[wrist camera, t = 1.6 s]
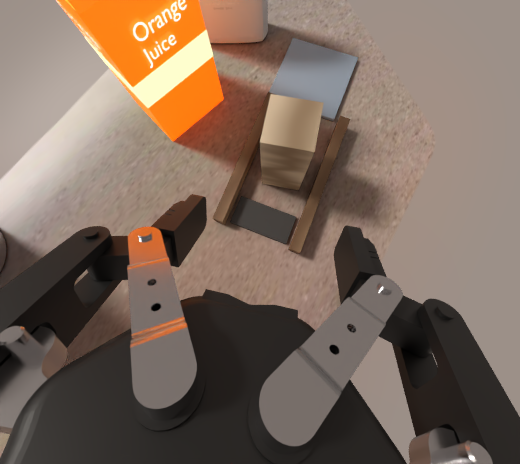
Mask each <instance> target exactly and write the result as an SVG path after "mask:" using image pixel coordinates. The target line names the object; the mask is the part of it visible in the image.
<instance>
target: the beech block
mask: <svg viewBox="0 0 520 464" xmlns="http://www.w3.org/2000/svg"><path fill="white" fill-rule="evenodd" d="M323 104H324V103H323V102H317V101H311V100H305V99H298V98H292V97H286V96H280V95H274V94H271V95H270V99H269V104H268V108H267V113H266V117H265V121H264V126H263V130H262V135H261V139H260V155H261V173H262V184H268V185H273V186H278V187H283V188H289V189H294V190H299V188H300V186H301V183H302V181H303V179H304V176H305V174H306V171H307V169H308V166H309V164H310V162H311V159H312V157H313V154H314V152H315V147H316V141H317V136H318V131H319V125H320V120H321V114H322V109H323Z"/></svg>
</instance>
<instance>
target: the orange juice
mask: <svg viewBox="0 0 520 464" xmlns="http://www.w3.org/2000/svg"><path fill="white" fill-rule="evenodd" d="M56 1H57V2H58V4H59V5H60V6H61V7H62V8H63V10H64V11H65V12H66V14H67V15H68V16H69V17H70V19H71V20H72V21H73V23H74V24H75V25H76V26H77V27H78V29H79V30H80V31H81V33H82V34H83V35H84V36H85V39H86V40H87V41H88V42H89V44H90V45H91V46H92V47H93V49H94V50H95V51H96V52H97V54H98V55H99V56H100V57H101V59H102V60H103V61H104V62H105V64H107V66H108V67H109V68H110V69H111V71H112V72H113V73H114V74H115V76H116V77H117V78H118V79H119V81H120V82H121V83H122V85H123V86H124V87H125V88H126V90H127V91H128V92H129V93H130V95H131V96H132V97H133V98H134V100H135V101H136V102H137V104H138V105H139V106H140V107H141V108H142V109H143V110H144V111H145V112H146V113H147V114H148V115H149V116H150V117H151V119H152V120H153V121H154V122H155V123H156V124H157V125H158V126H159V127H160V128H161V129H162V130H163V131H164V132H165V133H166V135H167V136H168V137H169V138H170V139H171V140H172V141H174V140H175V139H177V138H178V137H179V136H180V135H181V134H183V133H184V132H185V131H186V130H187V129H189V128H190V127H191V126H192V125H193V124H195V123H196V122H197V121H198V120H199V119H201V118H202V117H203V116H204V115H205V114H207V113H208V112H209V111H210V110H212V109H213V108H214V107H215V106H216V105H218V104H219V103H220V102H221V101H222V100H224V98H223V94H222V90H221V86H220V82H219V78H218V74H217V71H216V67H215V63H214V59H213V53H212V49H211V45H210V41H209V37H208V33H207V30H206V28H205V24H204V20H203V16H202V12H201V8H200V4H199V0H56Z"/></svg>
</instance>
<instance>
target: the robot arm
mask: <svg viewBox="0 0 520 464" xmlns="http://www.w3.org/2000/svg"><path fill="white" fill-rule="evenodd" d="M206 221H207V216H206V198H205V197H203V196H198V195H193V194H192V195H190V196H189V197H188V198H187V200H186V201H180V202H178V203H176V204H174V205H173V206H172V207H171V208H170V209H169V210H167V211H166V212H165V214H163V215H162V216H161V217H160V218H159V219H158V220H157V221H156V222H155V223H154V224H153V225H152V226H151V227H142V228H138V229H136V230H134V231H132V232H131V233H130V234H129V235H128V236H111V234H110V231H109V230H108V229H107V228H105V227H101V226H94V227H88V228H85V229H82V230H80V231H78V232H76V233H75V234H74V235H72V236H71V237H70V238H68V239H67V240H66V241H64V242H63V243H62V244H60V245H59V246H58V247H56V248H55V249H54V250H52V251H51V252H50V253H48V254H47V255H46V256H44V257H43V258H42V259H40V260H39V261H38V262H36V263H35V264H33V265H32V266H31V267H29V268H28V269H27V270H25V271H24V272H23V273H21V274H20V275H19V276H17V277H16V278H15V279H13V280H12V281H11V282H9V283H8V284H7V285H5V286H4V287H3V288H1V289H0V432H1V433H7V434H10V436H9V439H8V442H7V444H6V447H5V449H4V451H3V453H2V455H1V457H0V464H407V463H406V462H405V460H404V458H403V457H402V455H401V454H400V452H399V450H398V449H397V447H396V446H395V445H394V443H393V442H392V440H391V439H390V437H389V436H388V434H387V433H386V431H385V430H384V429H383V427H382V426H381V424H380V423H379V421H378V420H377V418H376V417H375V415H374V414H373V413H372V411H371V410H370V408H369V407H368V406H367V404H366V402H365V401H364V399H363V398H362V396H361V395H360V394H359V392H358V391H357V389H356V388H355V386H354V385H353V383H352V382H351V380H350V378H351V376H352V375H353V373H354V372H355V370H356V369H357V367H358V366H359V364H360V363H361V361H362V360H363V358H364V357H365V355H366V354H367V352H368V351H369V349H370V348H371V346H372V345H373V343H374V341H375V340H376V339H377V337H378V336H379V337H381V338H383V339H385V340H387V341H389V342H391V343H392V345H393V349H394V353H395V356H396V360H397V364H398V368H399V372H400V376H401V380H402V384H403V388H404V392H405V395H406V399H407V403H408V407H409V411H410V415H411V419H412V423H413V427H414V430H415V435H416V437H415V438H413V439H412V441H411V443H410V445H409V458H410V463H409V464H520V417H519V415H518V414H517V412H516V410H515V408H514V407H513V405H512V403H511V401H510V400H509V398H508V396H507V395H506V393H505V391H504V389H503V387H502V386H501V384H500V382H499V381H498V379H497V377H496V375H495V374H494V372H493V370H492V368H491V367H490V365H489V363H488V361H487V360H486V358H485V357H484V355H483V353H482V351H481V349H480V348H479V346H478V344H477V342H476V341H475V339H474V337H473V336H472V334H471V332H470V330H469V329H468V327H467V325H466V323H465V322H464V320H463V318H462V317H461V315H460V314H459V313H458V312H457V311H456V310H455V309H454V308H453V307H451V306H450V305H448V304H446V303H445V302H442V301H440V300H437V299H428V300H426V301H425V302H424V303H423V304H420V303H418V302H416V301H414V300H412V299H409V298H407V297H405V296H403V293H402V290H401V289H400V287H399V286H398V285H397V284H396V283H395V282H394V281H392V280H391V279H389V278H387V277H386V274H385V272H384V269H383V267H382V264H381V262H380V259H379V257H378V254H377V251H376V249H375V246H374V245H373V244H372V243H371V242H370V240H369V239H366V238H364V237H363V234H362V231H361V229H360V228H357V227H352V226H345V227H344V229H343V231H342V233H341V236H340V238H339V240H338V242H337V245H336V247H335V251H334V261H335V268H336V275H337V282H338V288H339V295H340V302H341V305H340V306H339V307H338V308H337V309H336V310H335V311H334V312H333V313H332V314H331V316H330V317H329V318H328V319H327V320H326V321H325V322H324V323H323V324H322V325H321V326H320V327H319V328H318V329H317V330H316V331H315V330H314V329H313V328H312V327H311V326H310V325H308V324H307V323H306V322H304V321H302V320H301V319H299V318H298V310H295V309H290V308H286V307H281V306H277V305H249V304H247V303H245V302H243V301H241V300H239V299H237V298H235V297H232V296H230V295H228V294H224V293H220V292H216V291H211V290H207V289H206V290H205V292H204V294H203V296H197V297H191V298H187V299H184V300H181V301H180V300H179V296H178V292H177V288H176V284H175V280H174V277H173V273H172V269H171V266H175V267H179V266H180V265H181V263H182V262H183V260H184V259H185V257H186V256H187V254H188V253H189V251H190V250H191V248H192V247H193V245H194V244H195V242H196V241H197V239H198V238H199V236H200V235H201V233H202V232H203V230H204V229H205V226H206ZM5 258H6V244H5V239H4V237H3V235H2V233H1V232H0V272H1V269H2V267H3V265H4V262H5ZM86 269H87V271H88V273H87V274H86V275H85V276H84V277H83V278H82V279H81V280H80V281H79V282H78V283H77V284H76V285H75V286H74V284H75V281H76V280H77V278H78V277H79V276H80V275H81V274H82V273H83V272H84V271H85V270H86ZM122 280H128V286H129V301H130V316H131V329H129V330H127V331H126V332H124V333H122V334H120V335H119V336H117V337H115V338H113V339H112V340H110V341H108V342H106V343H105V344H103V345H101V346H99V347H98V348H96V349H94V350H92V351H91V352H89V353H87V354H86V355H84V356H82V357H80V358H79V359H77V360H75V361H73V362H72V363H70V364H68V365H66V366H65V367H63V368H62V366H63V364H64V363H65V361H66V358H67V354H68V352H67V347H68V346H69V345H70V343H71V342H72V341H73V340H74V338H75V337H76V336H77V335H78V333H79V332H80V331H81V330H82V329H83V327H84V326H85V325H86V324H87V322H88V321H89V320H90V319H91V318H92V316H93V315H94V314H95V313H96V311H97V310H98V309H99V308H100V306H101V305H102V304H103V303H104V302H105V300H106V299H107V298H108V297H109V295H110V294H111V293H112V292H113V290H114V289H115V288H116V287H117V286H118V284H119V283H120V282H121V281H122ZM432 353H433V354H434V357H435V359H436V362H437V365H436V362H435V360H434V357H433V355H432ZM437 366H438V367H437Z"/></svg>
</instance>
